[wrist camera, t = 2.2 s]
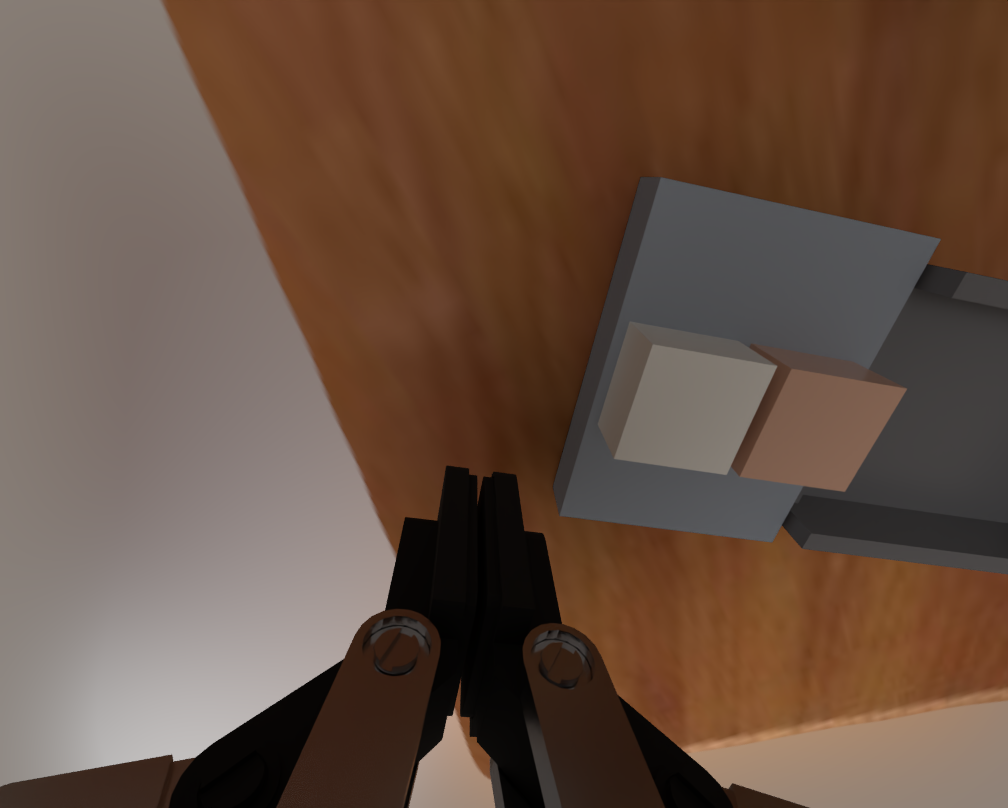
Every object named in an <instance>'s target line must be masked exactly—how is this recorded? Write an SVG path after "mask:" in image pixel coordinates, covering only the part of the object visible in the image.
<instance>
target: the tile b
mask: <svg viewBox="0 0 1008 808" xmlns="http://www.w3.org/2000/svg"><path fill="white" fill-rule="evenodd" d="M749 348H750V349H752V350H753V351H755V352H756V353H758V354H759V355H761V356H763V357H764V358H766V359H767V360H769V361H770V362H772V363H773V364H775V365H777V368H776V370H775V372H774V375H773V377H772V379H771V381H770V383H769V385H768V387H767V389H766V392H765V394H764V396H763V398H762V400H761V402H760V404H759V407H758V409H757V411H756V413H755V415H754V417H753V419H752V422H751V424H750V426H749V428H748V430H747V432H746V434H745V437H744V439H743V441H742V443H741V445H740V447H739V449H738V452H737V454H736V456H735V458H734V460H733V462H732V464H731V467H732V469H733V470H734V471H735V472H736V473H737V474H738V476H739V477H744V478H751V479H758V480H765V481H772V482H779V483H787V484H794V485H801V486H808V487H815V488H822V489H829V490H836V491H843V492H845V491H846V489H847V487H848V486H849V484H850V483H851V481H852V479H853V478H854V476H855V474H856V473H857V471H858V469H859V468H860V466H861V464H862V463H863V461H864V459H865V458H866V456H867V454H868V453H869V451H870V450H871V448H872V446H873V445H874V443H875V441H876V440H877V438H878V436H879V435H880V433H881V431H882V430H883V428H884V426H885V425H886V423H887V421H888V420H889V418H890V416H891V415H892V413H893V412H894V410H895V408H896V407H897V405H898V403H899V402H900V400H901V398H902V397H903V395H904V393H905V392H906V390H907V388H905V387H903V386H901V385H899V384H897V383H895V382H893V381H891V380H889V379H887V378H885V377H883V376H881V375H879V374H877V373H875V372H873V371H871V370H869V369H867V368H865V367H863V366H861V365H859V364H857V363H855V362H852V361H847V360H841V359H836V358H830V357H825V356H819V355H813V354H808V353H802V352H797V351H791V350H786V349H780V348H775V347H769V346H763V345H758V344H752V343H751V345H750V347H749Z"/></svg>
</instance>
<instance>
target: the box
mask: <svg viewBox="0 0 1008 808" xmlns="http://www.w3.org/2000/svg"><path fill="white" fill-rule="evenodd" d="M869 370H871V371H873V372H875V373H877V374H879V375H881V376H883V377H885V378H887V379H889V380H891V381H893V382H895V383H897V384H899V385H901V386H903V387H905V388H907V390H906V392H905V393H904V395H903V397H902V398H901V400H900V402H899V403H898V405H897V407H896V408H895V410H894V412H893V413H892V415H891V416H890V418H889V420H888V421H887V423H886V425H885V426H884V428H883V430H882V431H881V433H880V435H879V436H878V438H877V440H876V441H875V443H874V445H873V446H872V448H871V450H870V451H869V453H868V454H867V456H866V458H865V459H864V461H863V463H862V464H861V466H860V468H859V469H858V471H857V473H856V474H855V476H854V478H853V479H852V481H851V483H850V484H849V486H848V487H847V489H846V491H845V492H843V491H836V490H829V489H822V488H815V487H808V486H803V488H802V490H801V491H800V493H799V495H798V497H797V499H796V500H795V502H794V504H793V506H792V508H791V509H790V511H789V513H788V515H787V517H786V518H785V520H784V522H783V524H782V526H783V527H784V528H785V529H786V530H787V532H788V533H789V534H790V535H791V536H792V537H793V538H794V540H795V541H796V542H797V543H798V544H799V545H800V547H801V548H802V549H809V550H817V551H825V552H833V553H842V554H850V555H858V556H866V557H874V558H882V559H890V560H898V561H906V562H914V563H922V564H930V565H938V566H946V567H954V568H962V569H970V570H978V571H986V572H994V573H1002V574H1008V281H1006V280H1001V279H996V278H992V277H987V276H982V275H977V274H973V273H968V272H963V271H958V270H953V269H948V268H943V267H938V266H933V265H928V264H927V265H926V267H925V269H924V271H923V272H922V274H921V276H920V278H919V280H918V281H917V283H916V285H915V287H914V289H913V290H912V292H911V294H910V296H909V297H908V299H907V301H906V303H905V305H904V306H903V308H902V310H901V312H900V314H899V315H898V317H897V319H896V321H895V323H894V324H893V326H892V328H891V330H890V332H889V333H888V335H887V337H886V339H885V341H884V342H883V344H882V346H881V348H880V350H879V351H878V353H877V355H876V357H875V359H874V360H873V362H872V364H871V366H870V368H869Z"/></svg>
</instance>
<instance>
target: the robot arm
mask: <svg viewBox="0 0 1008 808" xmlns="http://www.w3.org/2000/svg"><path fill="white" fill-rule="evenodd" d="M460 680H461V700H460V715H461V717H470V737H477V742H478V743H479V745H480V746H481V747H482V748H483V749H484V750H485V751H486V753H487V754H488V755H489V756H490V757H491V758H490V775H491V782H492V788H493V794H494V801H495V808H809V807H805V806H802V805H799V804H796V803H793V802H790V801H786V800H783V799H780V798H777V797H774V796H771V795H768V794H764V793H761V792H758V791H755V790H752V789H749V788H745V787H743V786H739V785H736V784H731V786H730V787H729V789H726V788H723V787H721V786H720V784H719V783H718V782H717V781H716V780H715V779H714V778H713V777H712V776H711V775H710V774H709V773H708V772H707V771H706V770H705V769H704V768H703V767H702V766H700V765H699V764H698V763H697V762H696V761H695V760H693V759H692V758H691V757H690V756H689V755H688V754H686V753H685V752H684V751H683V750H682V749H681V748H679V747H678V746H677V745H676V744H675V743H674V742H672V741H671V740H670V739H669V738H668V737H666V736H665V735H664V734H663V733H662V732H661V731H659V730H658V729H657V728H656V727H655V726H654V725H652V724H651V723H650V722H649V721H648V720H647V719H645V718H644V717H643V716H642V715H641V714H640V713H638V712H637V711H636V710H635V709H634V708H633V707H631V706H630V705H629V704H628V703H627V702H625V701H624V700H623V699H622V698H621V697H620V696H618V695H617V692H616V690H615V688H614V685H613V683H612V680H611V678H610V676H609V673H608V671H607V669H606V666H605V664H604V661H603V659H602V657H601V655H600V653H599V651H598V650H597V648H596V646H595V645H594V644H593V643H592V641H591V640H590V639H589V638H588V637H587V636H586V635H584V634H583V633H581V632H580V631H578V630H576V629H575V628H572V627H570V626H567V625H564V624H562V622H561V617H560V612H559V607H558V601H557V596H556V591H555V586H554V581H553V576H552V571H551V566H550V561H549V556H548V551H547V546H546V540H545V537H544V535H543V534H542V533H537V532H528V531H524V526H523V519H522V512H521V505H520V497H519V490H518V483H517V477H516V475H514V474H507V473H499V472H493V474H492V477H483V481H482V486H481V491H480V496H479V501H478V506H477V476H476V475H469V468H461V467H454V466H446V470H445V476H444V483H443V489H442V495H441V501H440V507H439V513H438V519H437V521H434V520H426V519H417V518H409V517H405V521H404V525H403V530H402V534H401V539H400V543H399V548H398V553H397V557H396V562H395V567H394V571H393V576H392V581H391V585H390V590H389V595H388V599H387V604H386V609H385V611H383V612H380V613H378V614H376V615H374V616H372V617H371V618H369V619H368V620H367V621H366V622H364V623H363V624H362V625H361V627H360V628H359V630H358V631H357V633H356V634H355V636H354V638H353V640H352V643H351V645H350V647H349V649H348V651H347V654H346V656H345V658H344V659H343V660H342V661H340V662H339V663H337V664H335V665H334V666H332V667H331V668H329V669H328V670H326V671H325V672H323V673H322V674H320V675H318V676H317V677H315V678H314V679H312V680H311V681H309V682H308V683H306V684H305V685H303V686H301V687H300V688H298V689H297V690H295V691H294V692H292V693H290V694H289V695H287V696H286V697H284V698H283V699H282V700H280V701H278V702H277V703H275V704H273V705H272V706H270V707H269V708H267V709H266V710H264V711H263V712H261V713H260V714H258V715H256V716H255V717H253V718H252V719H250V720H249V721H247V722H246V723H244V724H242V725H241V726H239V727H238V728H236V729H235V730H233V731H232V732H230V733H229V734H227V735H225V736H224V737H223V738H221V739H219V740H218V741H216V742H215V743H213V744H212V745H211V746H209V747H208V748H207V749H206V750H204V751H203V752H202V753H201V754H199V755H198V756H197V757H196V758H191V759H185V760H180V761H174V762H173V757H172V755H167V756H162V757H156V758H150V759H144V760H139V761H133V762H128V763H122V764H116V765H110V766H105V767H99V768H94V769H88V770H82V771H77V772H71V773H66V774H60V775H55V776H48V777H43V778H37V779H32V780H26V781H20V782H15V783H10V784H7V785H4V786H1V787H0V808H409V804H410V800H411V795H412V791H413V787H414V783H415V778H416V775H417V770H418V765H419V761H420V760H421V759H422V758H423V757H424V756H425V755H426V754H427V753H428V752H430V750H432V749H433V748H434V747H435V746H436V745H437V744H438V743H439V742H440V741H441V740H442V738H443V733H444V729H445V724H446V719H447V716H452V715H453V711H454V706H455V702H456V698H457V693H458V689H459V684H460Z"/></svg>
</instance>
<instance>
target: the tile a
mask: <svg viewBox="0 0 1008 808" xmlns="http://www.w3.org/2000/svg"><path fill="white" fill-rule="evenodd" d="M776 368H777V365H775V364H773V363H772V362H770V361H769V360H767V359H766V358H764V357H763V356H761V355H759V354H758V353H756V352H755V351H753V350H752V349H750V348H749V347H747V346H746V345H744V344H742V343H741V342H739V341H736V340H730V339H724V338H719V337H713V336H708V335H702V334H697V333H691V332H686V331H680V330H674V329H669V328H663V327H658V326H652V325H647V324H641V323H636V322H629V325H628V328H627V332H626V335H625V338H624V341H623V344H622V348H621V351H620V354H619V357H618V360H617V364H616V367H615V370H614V373H613V377H612V380H611V383H610V386H609V389H608V393H607V396H606V399H605V402H604V405H603V409H602V412H601V415H600V418H599V422H598V426H599V428H600V430H601V433H602V435H603V437H604V439H605V441H606V443H607V445H608V447H609V450H610V452H611V454H612V456H613V458H614V459H618V460H625V461H632V462H639V463H646V464H653V465H660V466H667V467H674V468H681V469H688V470H695V471H702V472H709V473H716V474H723V475H727V473H728V471H729V469H730V467H731V464H732V462H733V460H734V458H735V456H736V454H737V452H738V449H739V447H740V445H741V443H742V441H743V439H744V437H745V434H746V432H747V430H748V428H749V426H750V424H751V422H752V419H753V417H754V415H755V413H756V411H757V409H758V407H759V404H760V402H761V400H762V398H763V396H764V394H765V392H766V389H767V387H768V385H769V383H770V381H771V379H772V377H773V375H774V372H775V370H776Z"/></svg>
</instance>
